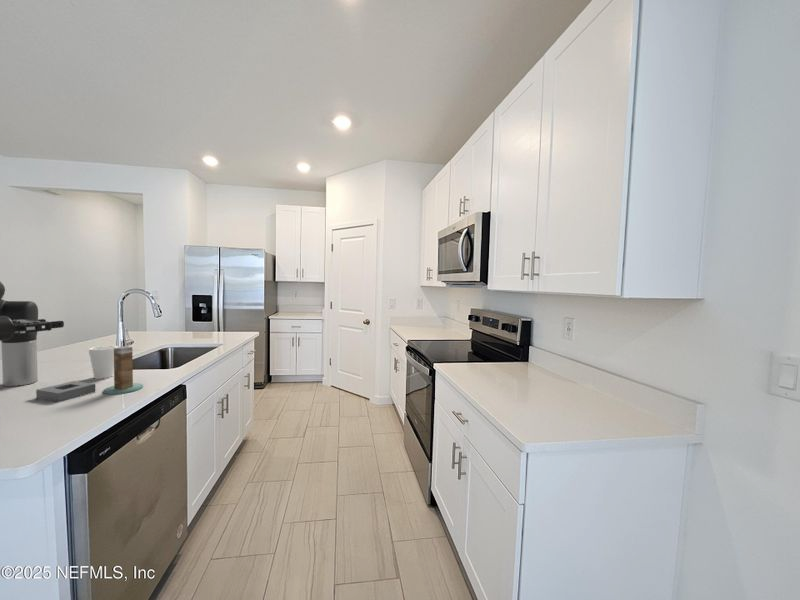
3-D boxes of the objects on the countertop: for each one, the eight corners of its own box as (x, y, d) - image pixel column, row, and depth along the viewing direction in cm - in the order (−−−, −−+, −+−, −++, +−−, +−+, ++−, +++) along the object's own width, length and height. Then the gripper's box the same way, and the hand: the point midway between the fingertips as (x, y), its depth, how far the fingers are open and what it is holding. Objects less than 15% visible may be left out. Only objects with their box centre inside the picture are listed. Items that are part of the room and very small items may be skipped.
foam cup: (106, 373, 148) (105, 345, 148) (123, 374, 147) (123, 346, 146) (83, 379, 139) (82, 349, 138) (101, 380, 138) (101, 350, 137)
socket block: (36, 398, 117) (36, 389, 117) (74, 388, 128) (74, 380, 127) (58, 401, 114) (58, 393, 114) (95, 391, 125) (95, 383, 125)
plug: (114, 388, 127) (113, 348, 126) (125, 385, 131) (124, 346, 130) (122, 389, 126) (121, 348, 125) (132, 386, 130) (132, 347, 129)
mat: (103, 388, 129) (103, 386, 129) (142, 382, 137) (142, 381, 137) (103, 396, 120) (103, 395, 120) (144, 390, 128) (144, 388, 128)
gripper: (0, 318, 94) (68, 313, 109) (-33, 315, 97) (38, 310, 113) (1, 344, 94) (69, 335, 110) (-32, 340, 97) (39, 332, 113)
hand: (54, 323), depth 111 cm, fingers open, 8 cm apart
